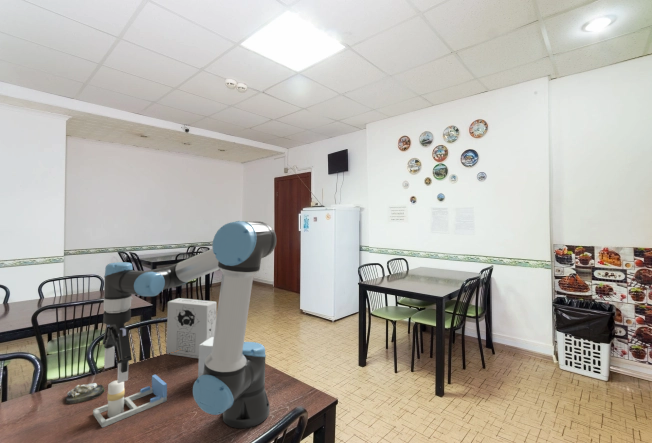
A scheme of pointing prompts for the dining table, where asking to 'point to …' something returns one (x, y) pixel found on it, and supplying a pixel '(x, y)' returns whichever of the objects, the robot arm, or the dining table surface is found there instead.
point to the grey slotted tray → (157, 388)
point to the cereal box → (189, 325)
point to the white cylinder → (115, 398)
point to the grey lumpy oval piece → (84, 393)
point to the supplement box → (204, 354)
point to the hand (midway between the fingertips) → (115, 373)
